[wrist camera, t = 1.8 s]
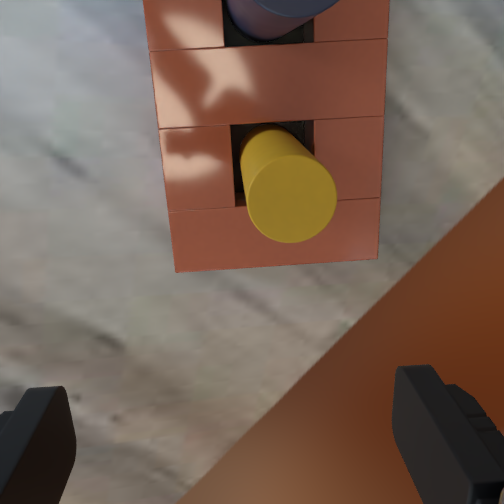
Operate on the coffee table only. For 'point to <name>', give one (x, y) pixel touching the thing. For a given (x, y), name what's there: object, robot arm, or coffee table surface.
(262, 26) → the navy peg
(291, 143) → the yellow peg
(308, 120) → the peg stand
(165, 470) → the coffee table surface
